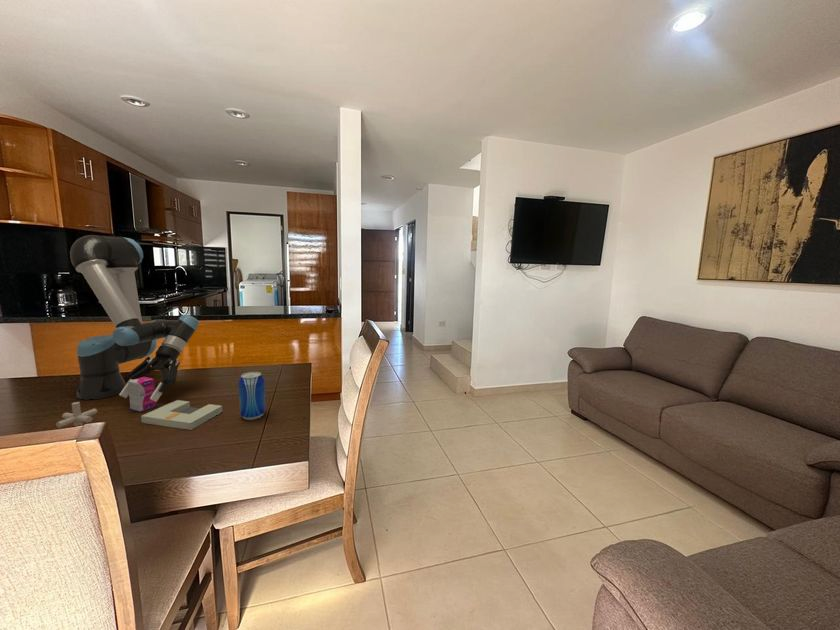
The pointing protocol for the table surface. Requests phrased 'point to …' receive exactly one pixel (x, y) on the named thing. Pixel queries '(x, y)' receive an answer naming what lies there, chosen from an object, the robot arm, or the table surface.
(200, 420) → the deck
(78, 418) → the pipe connector
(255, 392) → the beer can
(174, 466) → the table surface
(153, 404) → the supplement box
